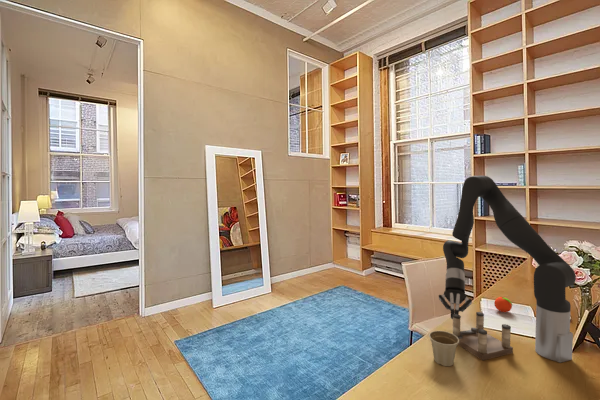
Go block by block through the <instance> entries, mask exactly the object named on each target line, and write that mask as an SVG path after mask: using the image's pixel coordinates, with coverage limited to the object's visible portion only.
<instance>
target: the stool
mask: <svg viewBox="0 0 600 400" xmlns="http://www.w3.org/2000/svg"><path fill="white" fill-rule="evenodd" d="M475 320H476V321H475V328H476V329H477V333H471V334H464V335H460V336H457V337H458V339H459V343H458V344H457V346H460V347H461V348H463V349H464V350H466V351H468V352H469V353H470V354H472V355H474V356H475V357H477V358H478V359H480V360H481V361H486V360H491V359H494V358H498V357H502V356H507V355H510V354H513V352H514V347H512V346H511V325H510V324H506V323H505V324H504V323H503V324H501V340H500V339H498V338H496V337H494V336H493V335H490V334H488V331H487V330H486V329H484V327H485V324H484V323H485V322H484V321H485V313H484V312H481V311H476V313H475Z"/></svg>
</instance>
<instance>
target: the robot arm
mask: <svg viewBox="0 0 600 400" xmlns="http://www.w3.org/2000/svg"><path fill="white" fill-rule="evenodd" d="M460 195H461V196H460V202H459V209H458V214H457V218H456V221H455V224H454V227H453V230H452V237H453V238H454V239H457V240H458V241H454V240H446V241H445V242H444V243H443V244H442V245H443V246H442V251H443V254H444V257H445V260H446V261H445V263H446V272H445V289H444V292H443V293H442V294H439V295H438V300H439V301H440V302H441V304H443V306H444V307H445V309H446V310H448V311H450V319H452V320H453V314H458V315H460V314H459V313H460V312H462V313H463V312H464V311H465V310H466V309H468V308H469V307H470V306H471V305H472V304H473V301H472V299H471V298H469V297H467V294H466V277H465V276H466V275H465V262H464V261H463V259H464V258H466V257H467V256H468V254H469V242H470V241H469V240H470V236H471V233H472V230H473V229H474V224H475V216H474V209H475V208H474V207H475V204H476V202H477V200H478V198H481V199H483V200H484V201H485V202H486V203H487V205H488V206H489V208H490V209H491V211H492V214H493V219H494V222H495V224H496V226H497V228H498V229H499V230H500V231H501V233H502V234H503V235H504V236H505V237H506V238H507V240H508V241H510V242H511V243H512V244H513V245H515V246H516V247H518V248H520V249H521V250H523V251H524V252H525V253H527V254H528V255H529V256H530V257H531V258H533V260H534V261H535V262H536V263H537V265H538V266H536V268H535V269H534V272H533V295H534V298H535V300H536V301H535V302H536V304H535V305H536V306H535V307H536V309H535V313H536V314H535V338H534V339H535V342H534V345H535V346H534V351H535V352H536V354H538V355H539V356H541V357H543V358H546V359H548V360H551V361H554V362H558V363H564V362H568V361H572V360H573V346H574V344H573V342H574V341H573V340H574V334H573V332H572V331H571V308H572V307H571V306H572V305H571V302H570V301H569V300H567V299H566V297H567V296H566V288H568V287H572V286H573V285H574V284H575V282H576V280H577V274H576V272H575V270H574V269H573V268H572V266H571V265H570V264H569V263H567V261H565V259H563V258H562V257H561V256H560V255H559V254H558V253H557V252H556V251H555V250H553V249H552V248H551V247H550V245H549V244H548V243H547V242H546V240H544V238H543V237H541V236H540V234H539V233H538V232H537V231H536V230H535V229H534V227H533V226H532V224H530V223H529V221H527V219H526V218H525V217H524V216H523V215H522V213H520V212H519V211H518V210H517V209H516V208H515V207H514V205H513V204H512V203H511V202H510V201H509V200H508V198H507V197H506V196H505V195H504V193H503V192H502V191H501V189H500V188H499V186H498V185H497V183H496V182H495V181H494V180H493V178H491V177H490V176H487V175H471V176H468V177H467V178H466V179H465V180H464V182H463V185H462V188H461V194H460ZM459 241H461V242H459ZM446 300H447V301H448V302H447V301H446ZM463 302H464V303H463ZM449 303H450V304H449ZM462 303H463V304H462ZM461 304H462V305H461ZM460 305H461V306H460Z"/></svg>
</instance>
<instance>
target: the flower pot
mask: <svg viewBox="0 0 600 400" xmlns="http://www.w3.org/2000/svg"><path fill="white" fill-rule="evenodd" d="M428 338H429V339H430V342H431V347H432V355H433V359H434V362H435V363H436V364H438V365H442V366H444V367H451V366H453V365H454V363H455V357H456V352H457V351H456V349H457V346H458V343H459V339H458V337H457V336H455V335H454V334H453V332H452V333H451V332H449V331H446V330H445V331H444V330H434V331H433V330H432V331H430V332H429V334H428Z"/></svg>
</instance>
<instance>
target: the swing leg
mask: <svg viewBox="0 0 600 400" xmlns="http://www.w3.org/2000/svg"><path fill="white" fill-rule="evenodd" d="M461 317H462V316H461V315H460V314H459V315H458V314H453V319H452V334H454V335H455V336H460V335H464V334H471V333H477V329H476V327H470V329H469V330H467V329H466V330H461Z"/></svg>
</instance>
